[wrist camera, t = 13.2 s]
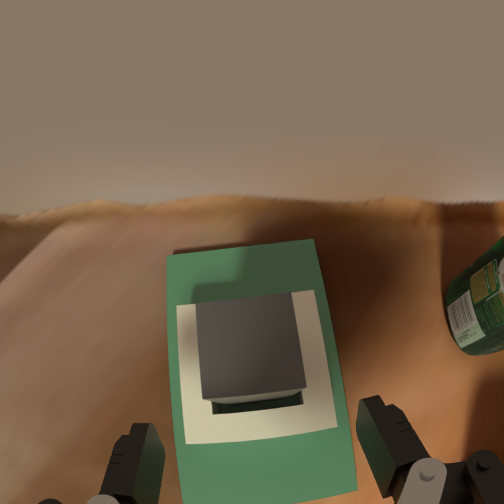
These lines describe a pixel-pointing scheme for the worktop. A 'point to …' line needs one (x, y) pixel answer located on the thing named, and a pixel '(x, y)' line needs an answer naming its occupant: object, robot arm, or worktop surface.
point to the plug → (249, 349)
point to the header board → (267, 412)
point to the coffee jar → (479, 304)
